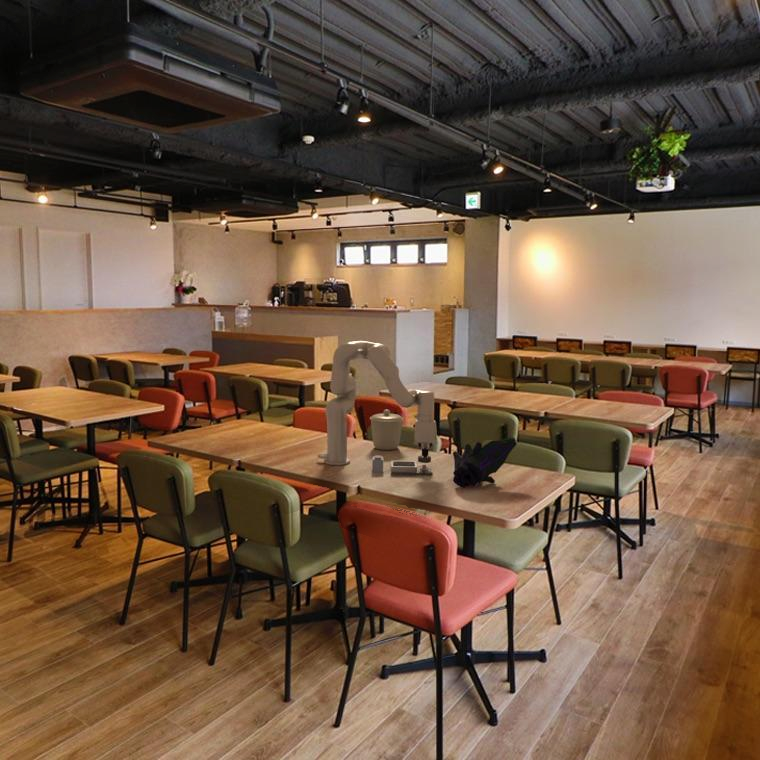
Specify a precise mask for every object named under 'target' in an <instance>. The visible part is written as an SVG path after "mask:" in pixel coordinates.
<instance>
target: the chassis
mask: <svg viewBox="0 0 760 760" xmlns="http://www.w3.org/2000/svg"><path fill="white" fill-rule="evenodd" d="M419 475H420V476H421V475H422V477H423V476H425V475H426V476H427V477H428V476H429V477H431V476H432V477H433V476H434V474H433V469H432V466H431V465H427V464H422V465H418V464H417V461H415V460H391V461H390V476H419ZM426 476H425V477H426Z"/></svg>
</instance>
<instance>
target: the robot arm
mask: <svg viewBox="0 0 760 760" xmlns="http://www.w3.org/2000/svg"><path fill="white" fill-rule="evenodd" d="M390 355H391V351H390V349H389V347H388V346H387V345H385V344H382V343H375V342H370V341H363V340H357V341H356V340H355V341H349V342H345V343H343V344H341V345H339V346H337V348H336V349H335V350H334V352H333V357H332V368H331V375H330V376H331V377H330V383H329V384H330V391H331V393H332V394H333V395H335V396H336V397H334V398H332V399H330V400H329V401H328V402H327V404H326V406H325V416H326V424H327V425H326V427H327V429H326V430H327V431H326V432H327V435H326V436H327V439H326V444H327V446H326V447H327V448H326V449H327V450H326V452H324V453H318V454H317V458H320V459H323V463H324V464H326V465H330V466H344V465H348V464H350V463H351V459H350V458H348V457H347V455H348V424H347V423H348V422H347V415H349V414H350V413H351V412H353V410H354V408H355V401H356V391H357V382H356V379H355V378H354V377H353V375H352V374H350V372H351V364H350V363H351V362H350V361H355V360H358V359H359V360H360V359H363V360H368V361H369V363H370V364H371V366H373V368H375V370H376V371H377V373H378V374H379V375H380V376H381V378H382V379H383V381H384V383H385V386H386V388H387V390H388V393H390V395H391V396H392V398H393V400H394V401H395V402H396V403H397V404H398V405H399V407H401V408H404V409H409V408H411V407H412V406H413V407H414V406H416V405H417V414H415V415H414V416H413V419H416V420H415V424H414V433H413V437H414V440H413V445H416V446H418V447H420V449H421V456H423V458H425V457H426V458H427V456H429V449H430V448H431V447H432V446H436V445H438V442H437V439H438V437H437V433H438V432H437V422H436V420H435V392H434V391H432V390H419V389H415V388H411V389H407V388H406V387H405V386H404V384H403V382H402V380H401V378H400V369H399V367H398V366H397V364H396V363H395V362H394V360H393V359H392V358H391V357H390ZM425 444H426V446H425Z"/></svg>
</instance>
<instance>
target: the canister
mask: <svg viewBox="0 0 760 760" xmlns="http://www.w3.org/2000/svg"><path fill="white" fill-rule="evenodd" d="M369 420H370V423H371V426H370V427H371V436H372V443H373V446H374V448H375V449H377V450H379V449H380V450H381V451H393V450H394V451H395V450H397V449H398V447H399V446H400V443H401V442H400V441H401V435H402V428H403V427H402V426H403V421H404V420H405V419H404V417H402V415H399V414H397V413H396V414H395V413H391V411H390V410H389V409H384V410H383V413H376V414H373V415H372V416H370V417H369Z"/></svg>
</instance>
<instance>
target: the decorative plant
mask: <svg viewBox="0 0 760 760" xmlns="http://www.w3.org/2000/svg"><path fill="white" fill-rule="evenodd" d="M516 445H518V444H517V440H516V438H515V437H508V438H504V439H497V440H494V439H493V440H490V441H489V442H487V443H486V444H484V446H483V445H482V442H480V441H479V442H478V441H476V443H475V445H474V446H473V448H472V446H471V445H470V443H467V444H465V447H464V450H463V453H462V454H461V455H460V453H459V452H458V451H456V450H454V451H453V452H452V456H453V458H454V459H453V460H454V471H453V473H452V474H453V478H452V480H453V483H454V484H455V485H456V486H458V487H459V488H468V487H470V486H471V487H473V488H474V487H476V486H477V485H478V484H479V485H480V484H481V483H483V482H486V483H490V484H495V482H496V481H495V479H494V478H493V477H492V476H490V475H492V474H496V473H497V472H498V470H500V468H501V467H502V466H504V464H505V462H506V460H507V459H508V457H509V455H510V453H511V452H512V450H514V449H515V447H516Z"/></svg>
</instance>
